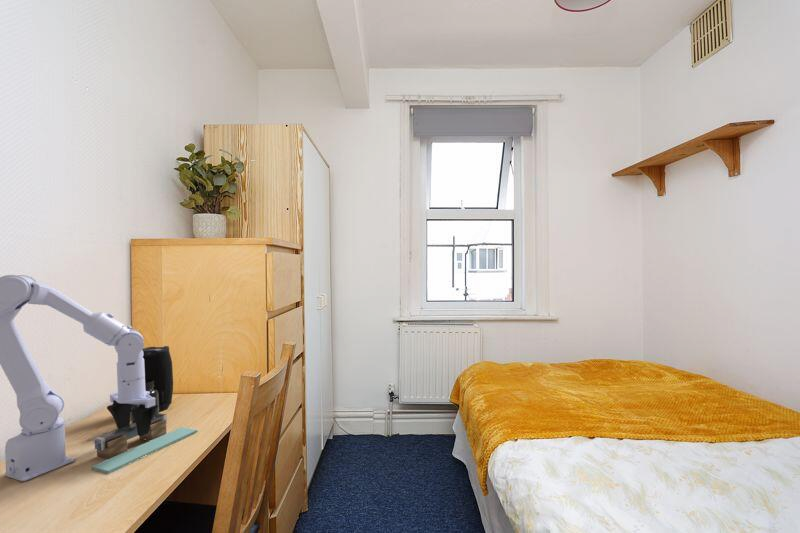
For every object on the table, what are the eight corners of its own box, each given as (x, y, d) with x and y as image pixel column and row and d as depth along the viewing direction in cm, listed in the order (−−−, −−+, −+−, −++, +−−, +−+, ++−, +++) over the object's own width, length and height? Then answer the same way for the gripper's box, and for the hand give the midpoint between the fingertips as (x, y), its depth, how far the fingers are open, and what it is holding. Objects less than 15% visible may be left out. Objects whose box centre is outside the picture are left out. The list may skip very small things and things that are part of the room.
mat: (108, 473, 83) (108, 470, 83) (91, 469, 86) (91, 466, 86) (197, 432, 104) (197, 429, 104) (181, 429, 106) (181, 427, 106)
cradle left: (109, 460, 89) (109, 442, 89) (97, 456, 91) (96, 440, 91) (127, 452, 93) (126, 435, 93) (114, 449, 95) (114, 433, 95)
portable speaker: (139, 408, 124) (137, 348, 124) (173, 402, 129) (171, 343, 129) (139, 416, 117) (137, 352, 117) (174, 409, 122) (172, 347, 122)
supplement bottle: (164, 418, 115) (163, 378, 115) (147, 427, 108) (146, 385, 108) (143, 418, 115) (142, 378, 115) (125, 427, 109) (123, 385, 109)
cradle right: (151, 441, 99) (151, 425, 99) (139, 438, 101) (138, 423, 101) (166, 435, 102) (165, 420, 102) (154, 432, 104) (153, 417, 104)
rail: (101, 450, 89) (101, 439, 89) (94, 449, 90) (94, 438, 90) (166, 423, 104) (166, 414, 104) (160, 422, 105) (160, 413, 105)
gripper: (166, 376, 98) (168, 429, 98) (129, 372, 103) (131, 422, 103) (137, 384, 91) (140, 441, 91) (100, 380, 97) (102, 433, 97)
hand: (133, 432), depth 97 cm, fingers open, 7 cm apart
